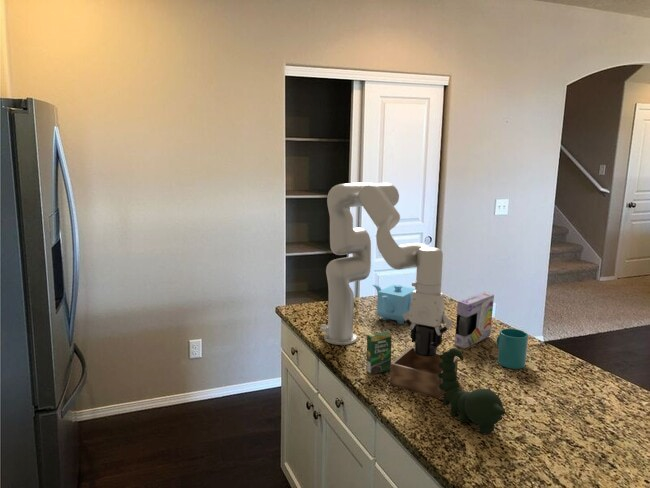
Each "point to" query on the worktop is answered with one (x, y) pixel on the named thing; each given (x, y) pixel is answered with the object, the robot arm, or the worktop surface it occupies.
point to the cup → (512, 348)
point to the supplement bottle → (425, 340)
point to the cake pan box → (473, 319)
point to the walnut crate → (418, 373)
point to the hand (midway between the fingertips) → (425, 342)
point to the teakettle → (393, 302)
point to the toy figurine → (468, 397)
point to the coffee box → (378, 352)
